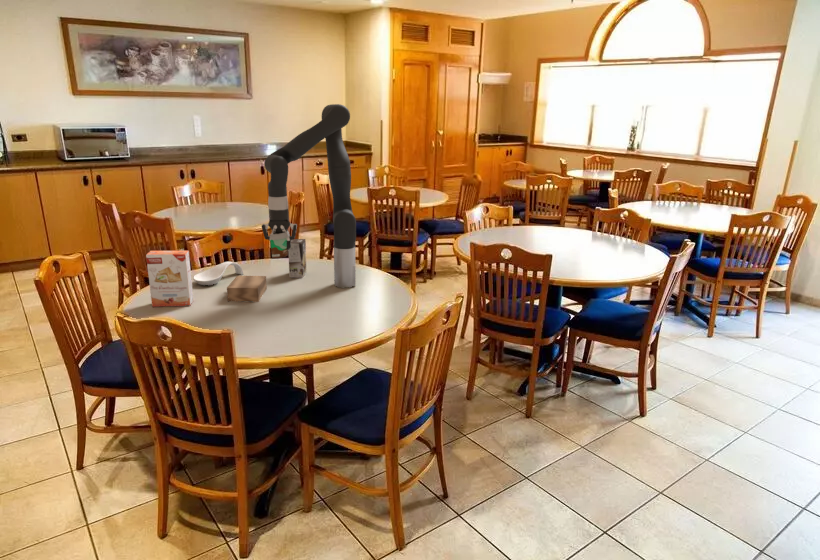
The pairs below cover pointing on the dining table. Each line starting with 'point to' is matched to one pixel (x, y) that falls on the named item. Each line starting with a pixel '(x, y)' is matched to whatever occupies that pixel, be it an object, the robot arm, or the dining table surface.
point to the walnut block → (247, 288)
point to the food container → (279, 245)
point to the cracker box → (169, 278)
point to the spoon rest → (215, 273)
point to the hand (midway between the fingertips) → (280, 249)
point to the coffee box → (297, 258)
